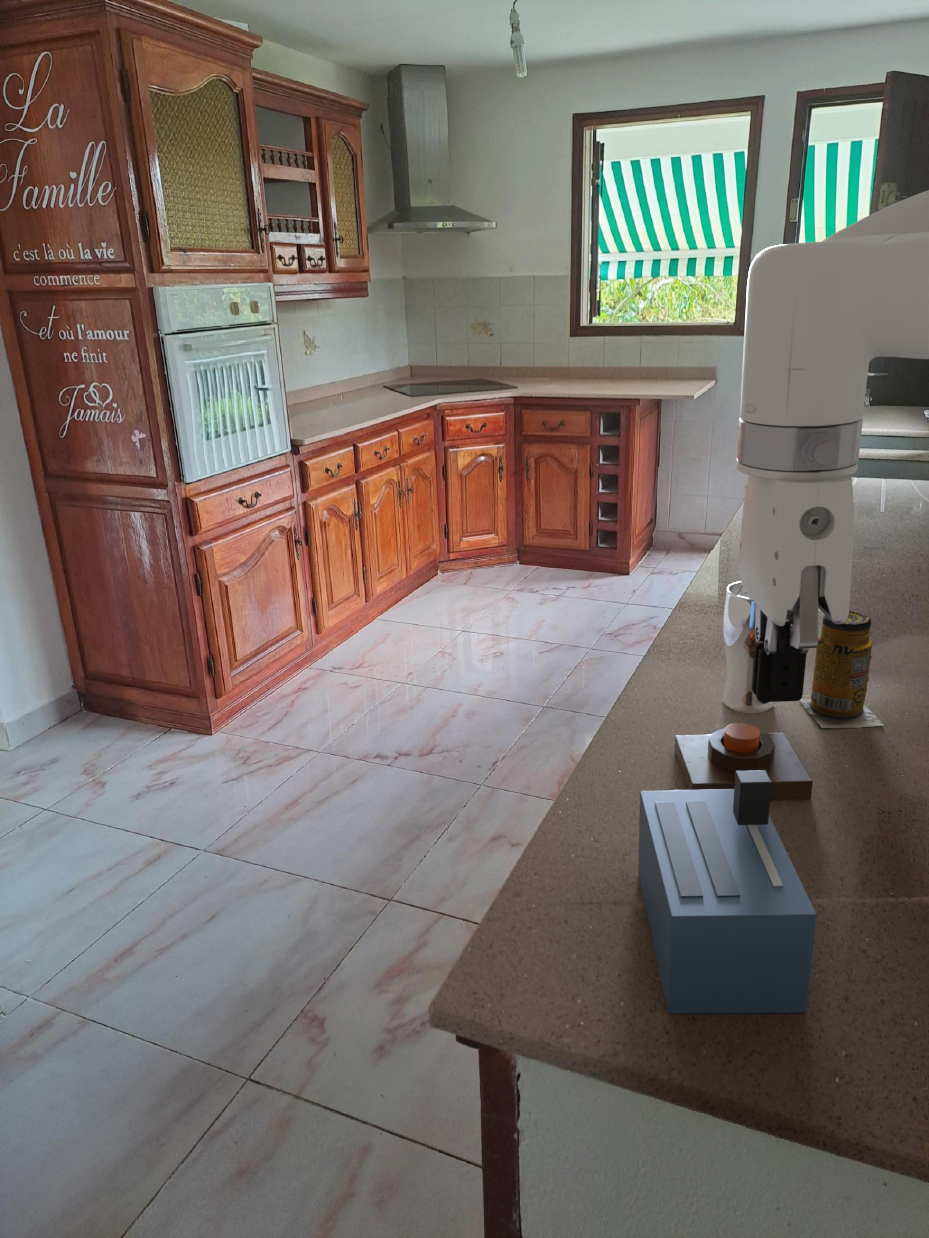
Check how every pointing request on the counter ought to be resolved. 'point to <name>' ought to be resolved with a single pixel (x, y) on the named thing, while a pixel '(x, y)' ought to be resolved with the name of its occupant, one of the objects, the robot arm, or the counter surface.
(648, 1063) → the counter surface
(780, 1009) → the toaster
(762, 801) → the toaster slider
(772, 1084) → the counter surface
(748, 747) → the button
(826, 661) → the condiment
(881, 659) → the counter surface
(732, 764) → the block
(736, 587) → the beer glass
